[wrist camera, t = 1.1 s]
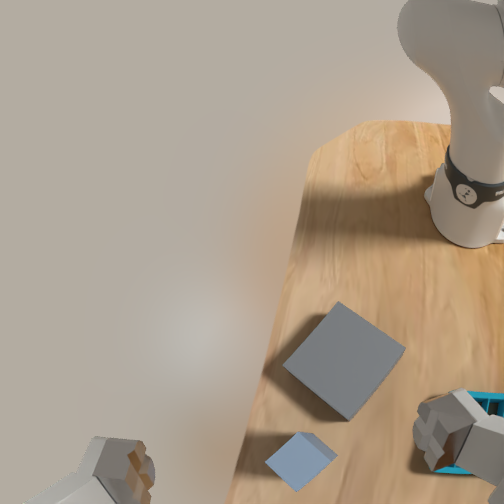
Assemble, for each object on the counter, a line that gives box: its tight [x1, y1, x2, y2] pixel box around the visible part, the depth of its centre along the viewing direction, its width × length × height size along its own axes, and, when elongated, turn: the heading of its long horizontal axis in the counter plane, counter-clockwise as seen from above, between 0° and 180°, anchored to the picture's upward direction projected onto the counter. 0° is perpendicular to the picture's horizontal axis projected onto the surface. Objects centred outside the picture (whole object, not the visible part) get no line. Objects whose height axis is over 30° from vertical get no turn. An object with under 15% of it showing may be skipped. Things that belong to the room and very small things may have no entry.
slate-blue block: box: [265, 432, 338, 492], centre depth 33 cm, size 5×5×12 cm
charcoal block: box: [282, 301, 405, 421], centre depth 42 cm, size 12×12×5 cm
